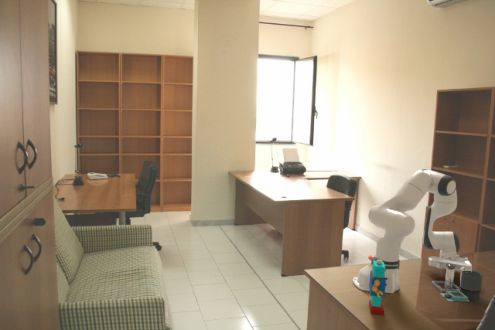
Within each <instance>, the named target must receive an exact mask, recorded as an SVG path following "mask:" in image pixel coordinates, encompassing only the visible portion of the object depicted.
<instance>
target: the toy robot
mask: <svg viewBox="0 0 495 330" xmlns="http://www.w3.org/2000/svg"><path fill="white" fill-rule="evenodd" d="M379 256H380V255H379ZM385 271H386V268H385V265H384V262H382V260H377V261H373V266H372V270H371V271H370V282H369V289H370V291H369V294H370V300H369V301H368V302H369V303H368V306H369V307H368V308H369V312H370V314H373V315H382V316H384V315H385V309H384V306H383V302H382V298H385V286H386V279H385Z"/></svg>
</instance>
